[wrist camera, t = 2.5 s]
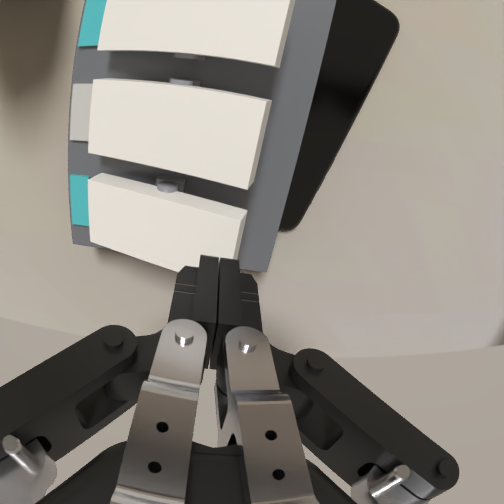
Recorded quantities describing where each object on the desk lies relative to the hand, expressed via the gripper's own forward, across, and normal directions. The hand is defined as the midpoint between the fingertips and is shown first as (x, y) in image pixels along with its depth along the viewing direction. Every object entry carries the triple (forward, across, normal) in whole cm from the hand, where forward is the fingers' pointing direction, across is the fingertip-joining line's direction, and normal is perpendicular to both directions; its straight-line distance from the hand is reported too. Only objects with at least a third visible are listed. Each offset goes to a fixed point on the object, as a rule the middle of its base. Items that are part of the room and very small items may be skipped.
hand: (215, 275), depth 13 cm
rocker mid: (+4, +3, -5) cm, 7 cm away
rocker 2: (+4, +3, 0) cm, 5 cm away
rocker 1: (+4, +3, -10) cm, 11 cm away
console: (+8, +3, -5) cm, 10 cm away
